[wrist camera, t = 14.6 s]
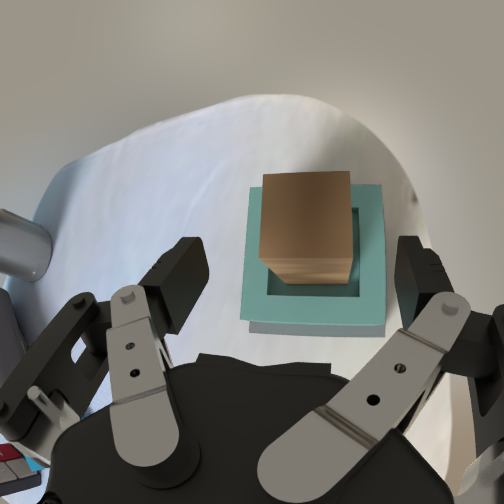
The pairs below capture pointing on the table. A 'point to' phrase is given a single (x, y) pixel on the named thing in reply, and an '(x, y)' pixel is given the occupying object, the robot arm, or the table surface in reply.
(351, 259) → the walnut brick
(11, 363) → the bluetooth speaker
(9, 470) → the color panel box
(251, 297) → the tower base
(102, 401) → the table surface
